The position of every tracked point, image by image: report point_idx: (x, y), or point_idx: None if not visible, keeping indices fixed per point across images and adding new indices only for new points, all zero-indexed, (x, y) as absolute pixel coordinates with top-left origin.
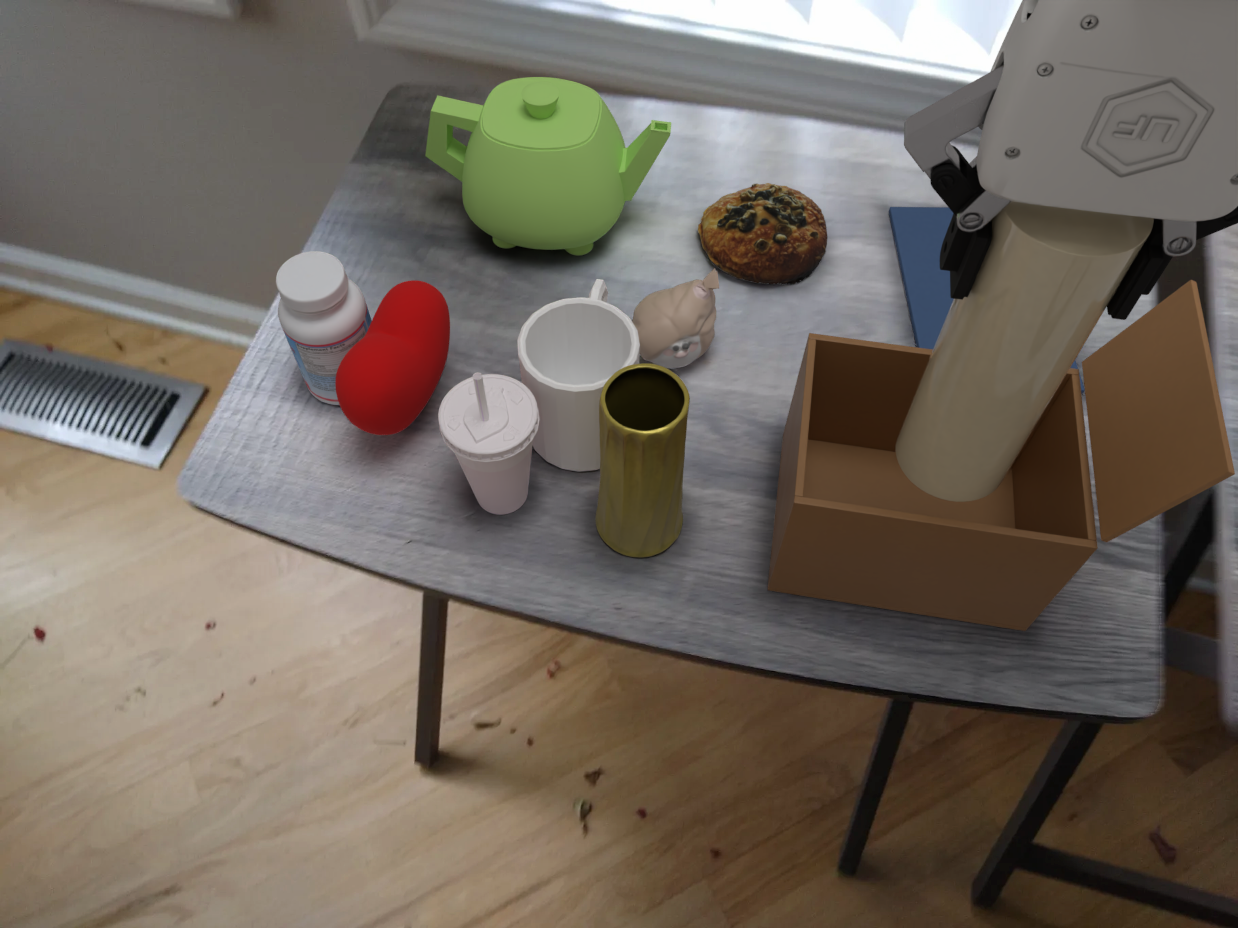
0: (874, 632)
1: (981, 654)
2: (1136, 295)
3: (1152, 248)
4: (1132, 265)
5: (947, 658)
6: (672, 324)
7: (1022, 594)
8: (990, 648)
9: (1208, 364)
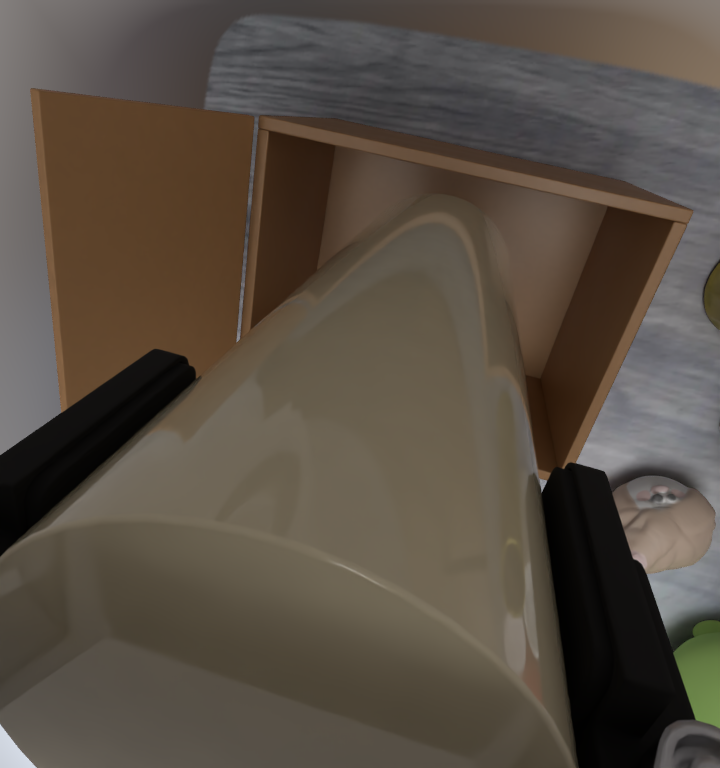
0: (506, 119)
1: (388, 87)
2: (110, 390)
3: (11, 523)
4: None
5: (428, 81)
6: (680, 526)
7: (343, 124)
8: (376, 95)
9: (58, 324)
